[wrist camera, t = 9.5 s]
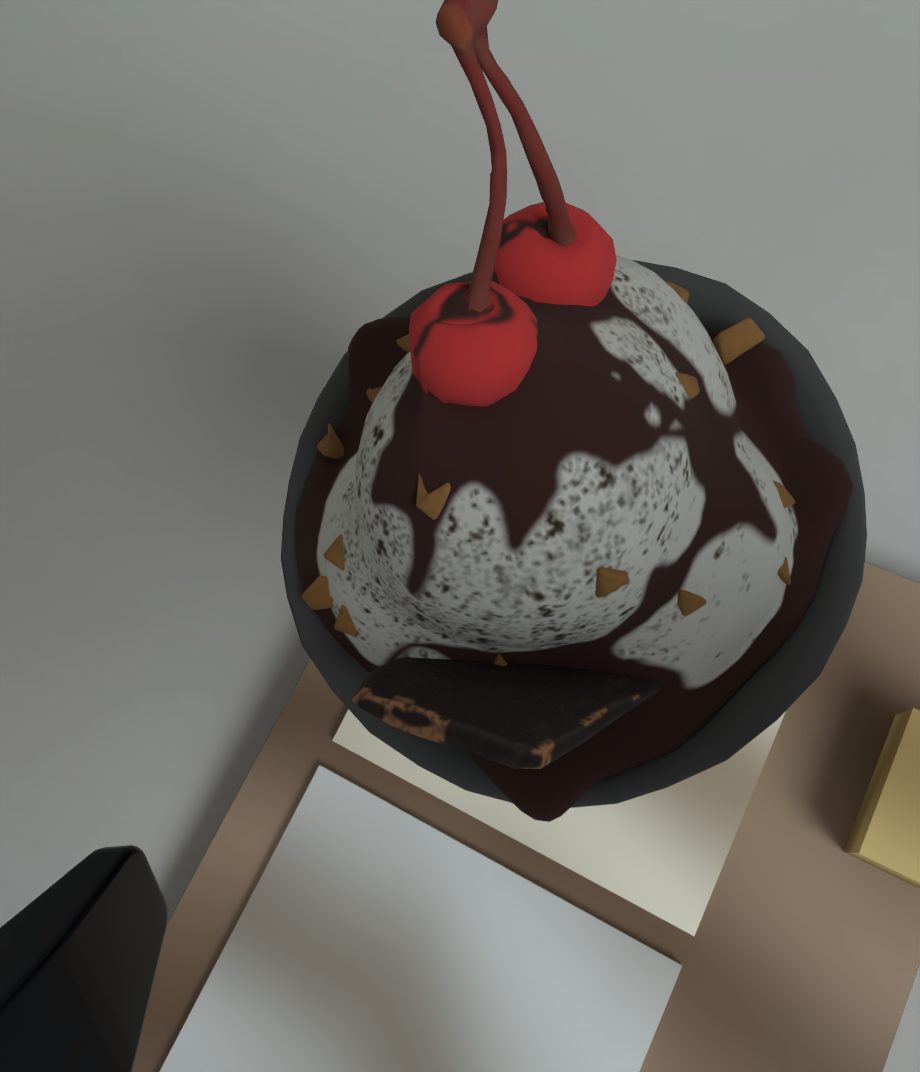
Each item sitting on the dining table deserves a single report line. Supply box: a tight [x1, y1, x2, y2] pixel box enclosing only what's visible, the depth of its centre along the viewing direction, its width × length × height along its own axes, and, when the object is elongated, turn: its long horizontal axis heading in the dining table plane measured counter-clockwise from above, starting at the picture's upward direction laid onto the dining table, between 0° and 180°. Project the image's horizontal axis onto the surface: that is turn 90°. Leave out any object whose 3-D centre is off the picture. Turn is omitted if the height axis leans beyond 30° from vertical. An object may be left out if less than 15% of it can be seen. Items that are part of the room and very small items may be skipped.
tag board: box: [132, 562, 920, 1072], centre depth 18 cm, size 18×14×2 cm
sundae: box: [281, 0, 867, 822], centre depth 12 cm, size 7×7×15 cm
